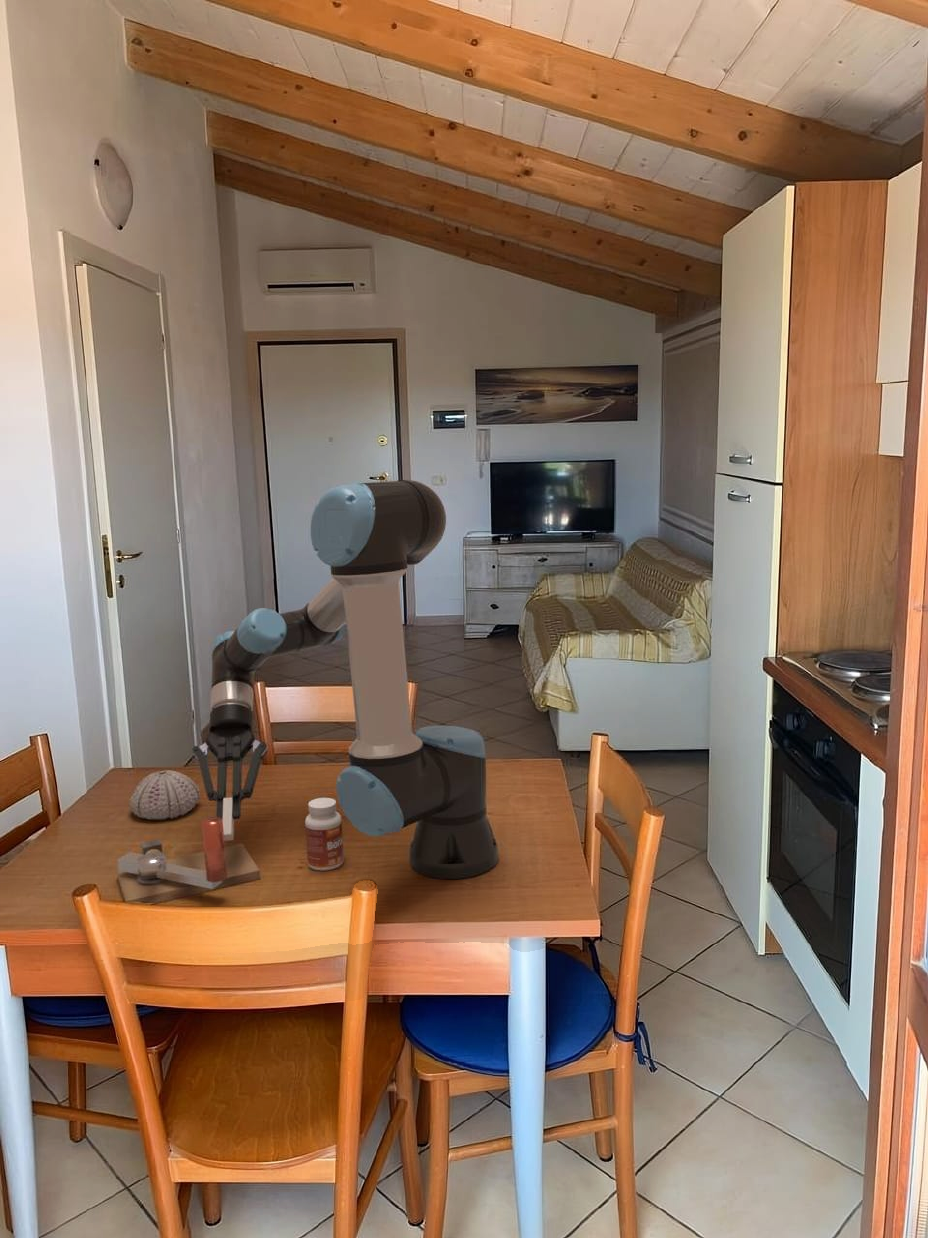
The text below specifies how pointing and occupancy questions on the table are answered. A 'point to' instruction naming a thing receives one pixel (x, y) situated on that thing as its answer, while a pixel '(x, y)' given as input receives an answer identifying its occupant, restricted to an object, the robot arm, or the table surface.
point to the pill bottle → (324, 835)
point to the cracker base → (164, 890)
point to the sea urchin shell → (164, 795)
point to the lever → (158, 868)
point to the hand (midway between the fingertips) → (227, 837)
